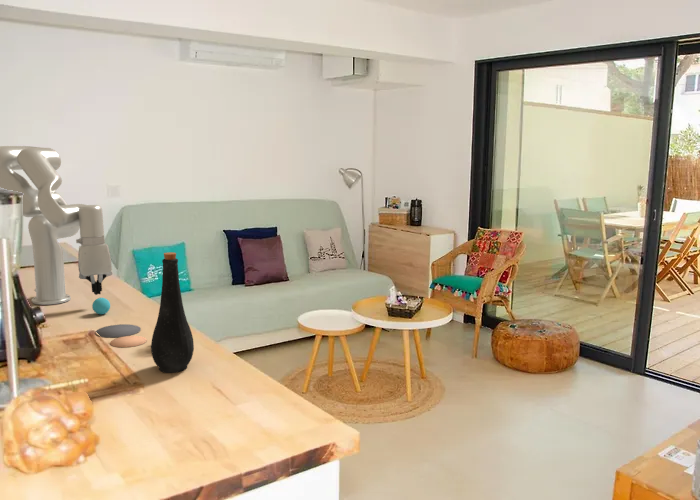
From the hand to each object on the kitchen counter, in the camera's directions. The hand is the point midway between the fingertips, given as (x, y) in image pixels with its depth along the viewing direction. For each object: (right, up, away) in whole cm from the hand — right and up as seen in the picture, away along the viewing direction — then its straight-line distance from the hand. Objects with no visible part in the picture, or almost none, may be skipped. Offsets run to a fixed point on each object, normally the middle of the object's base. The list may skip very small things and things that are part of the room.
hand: (97, 293), depth 211 cm
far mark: (+23, -12, -34) cm, 43 cm away
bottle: (+42, -15, -54) cm, 70 cm away
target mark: (+17, -10, -24) cm, 31 cm away
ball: (+4, -4, -7) cm, 9 cm away
